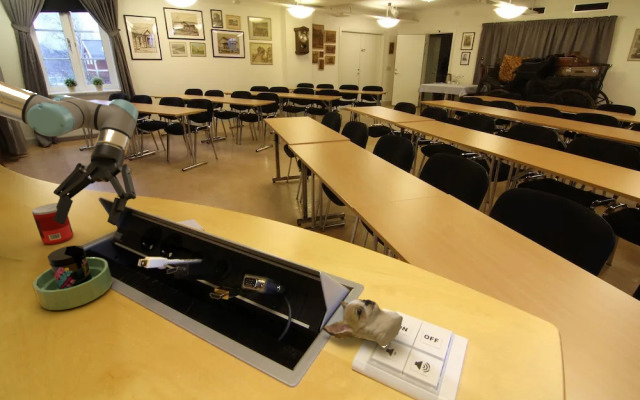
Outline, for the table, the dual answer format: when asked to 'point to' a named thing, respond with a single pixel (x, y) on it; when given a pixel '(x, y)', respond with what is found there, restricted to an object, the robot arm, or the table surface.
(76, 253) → the supplement container
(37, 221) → the canned food
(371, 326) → the ceramic sculpture
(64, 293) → the bowl
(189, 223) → the charger
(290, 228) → the table surface
